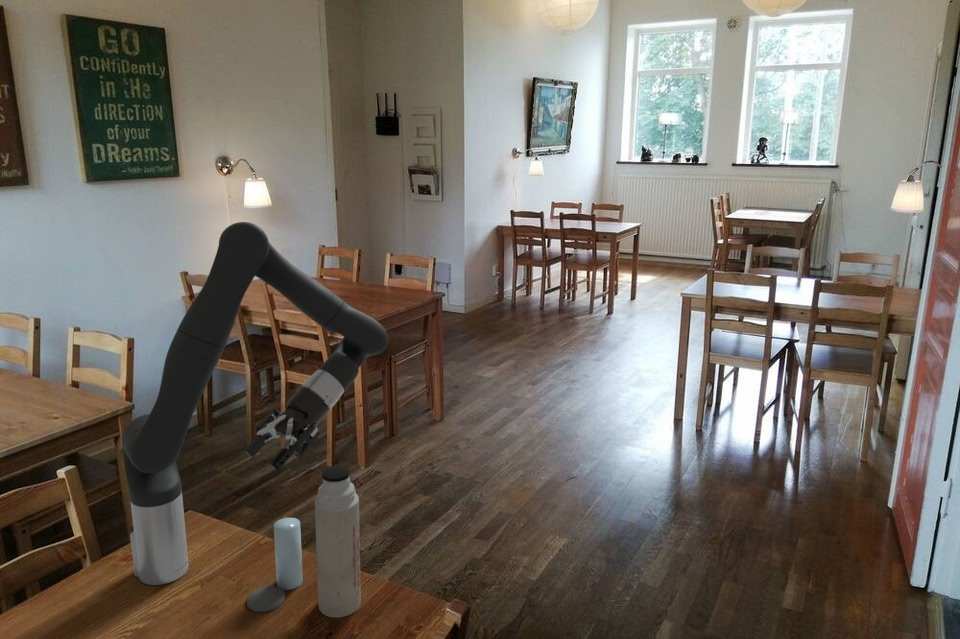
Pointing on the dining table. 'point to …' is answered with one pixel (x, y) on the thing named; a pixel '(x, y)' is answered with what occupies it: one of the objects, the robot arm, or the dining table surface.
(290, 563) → the tall pale blue cylinder
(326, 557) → the thermos bottle
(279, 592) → the coaster
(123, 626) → the dining table surface
